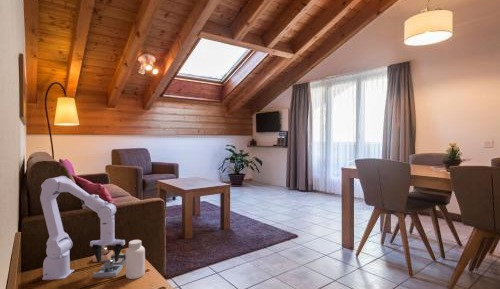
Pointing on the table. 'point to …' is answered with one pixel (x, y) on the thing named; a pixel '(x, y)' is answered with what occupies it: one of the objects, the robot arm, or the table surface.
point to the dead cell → (104, 251)
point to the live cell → (108, 265)
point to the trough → (111, 274)
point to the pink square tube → (103, 256)
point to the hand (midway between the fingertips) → (108, 261)
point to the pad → (118, 261)
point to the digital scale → (120, 257)
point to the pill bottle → (135, 260)
